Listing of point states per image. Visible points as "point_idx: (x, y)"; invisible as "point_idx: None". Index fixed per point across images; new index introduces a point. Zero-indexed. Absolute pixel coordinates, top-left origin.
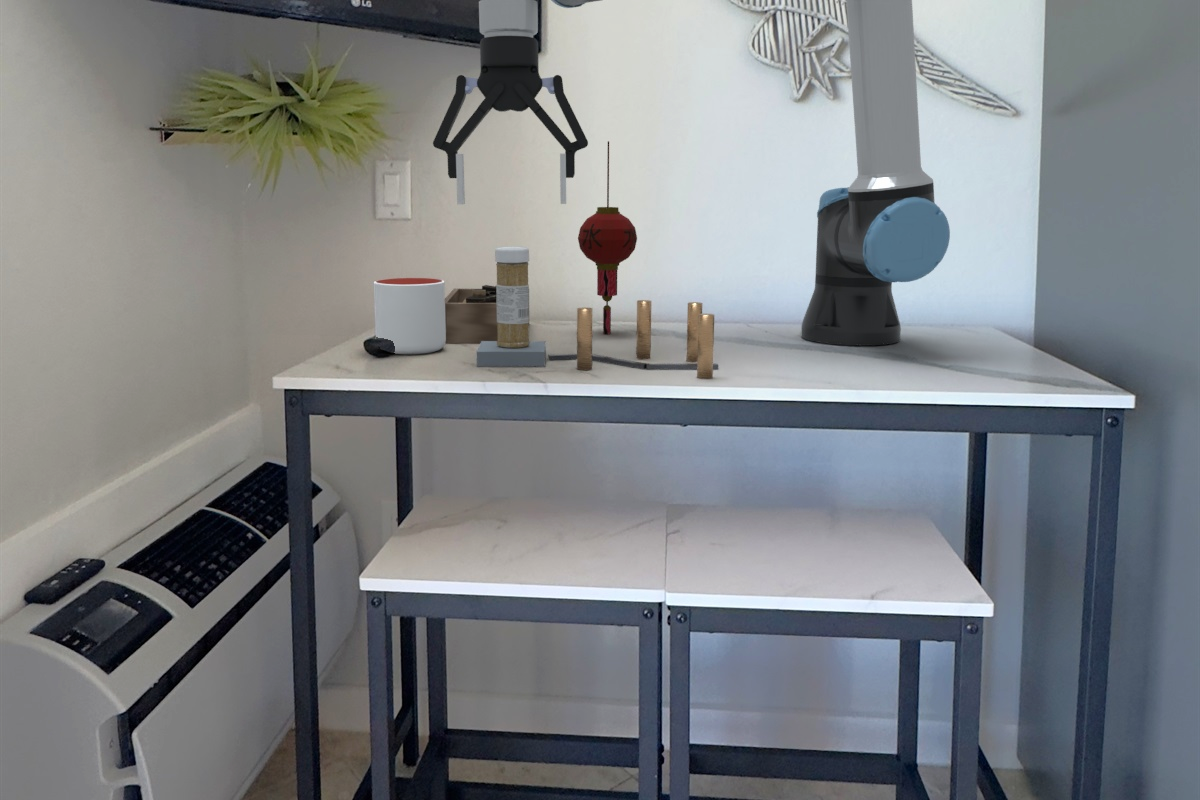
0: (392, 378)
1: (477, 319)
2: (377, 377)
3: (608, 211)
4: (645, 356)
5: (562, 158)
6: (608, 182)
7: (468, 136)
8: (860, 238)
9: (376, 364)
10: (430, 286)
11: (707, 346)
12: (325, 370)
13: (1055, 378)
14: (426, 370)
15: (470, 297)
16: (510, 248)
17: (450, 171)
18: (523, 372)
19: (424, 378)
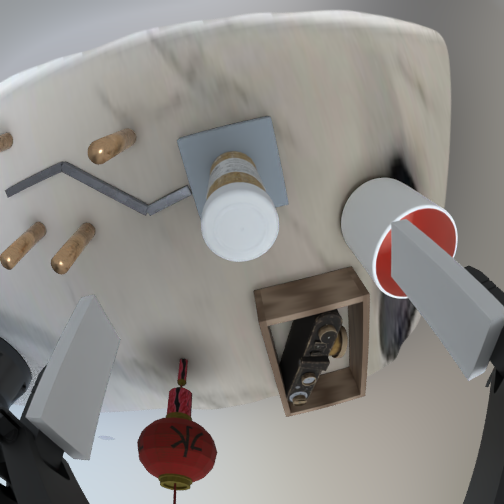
0: (344, 29)
1: (317, 294)
2: (362, 34)
3: (168, 476)
4: (81, 225)
5: (39, 401)
6: None
7: (490, 430)
8: None
9: (390, 113)
10: (385, 226)
11: None
12: (426, 74)
13: None
14: (323, 80)
15: (336, 322)
16: (236, 202)
17: (480, 279)
18: (195, 92)
19: (308, 31)
